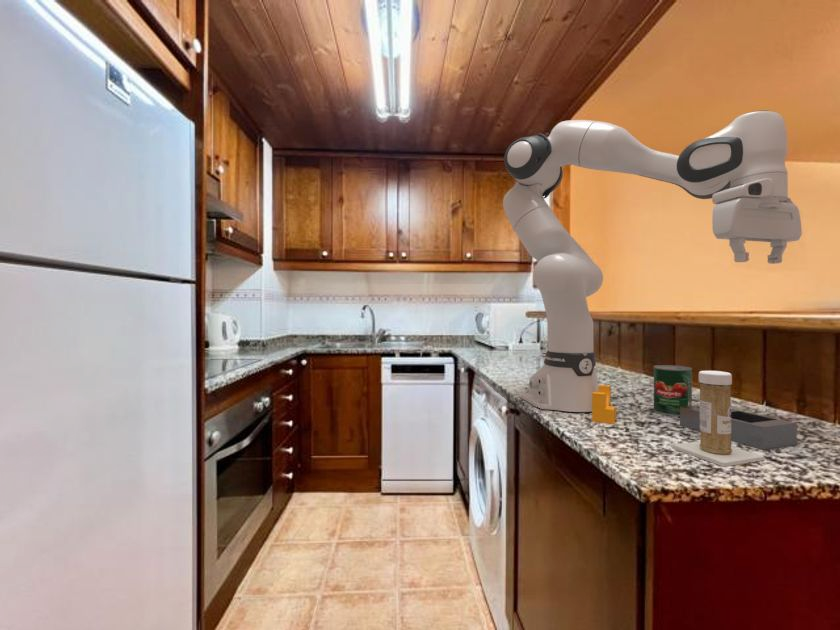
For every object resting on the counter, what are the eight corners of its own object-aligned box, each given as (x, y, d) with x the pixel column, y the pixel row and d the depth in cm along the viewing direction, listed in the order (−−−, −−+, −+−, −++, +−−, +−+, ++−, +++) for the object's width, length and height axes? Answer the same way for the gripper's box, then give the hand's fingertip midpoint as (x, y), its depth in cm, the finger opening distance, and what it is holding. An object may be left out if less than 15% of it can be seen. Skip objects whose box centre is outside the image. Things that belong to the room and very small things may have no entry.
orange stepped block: (613, 424, 87) (613, 395, 87) (592, 422, 89) (592, 393, 89) (618, 412, 97) (618, 386, 97) (599, 410, 99) (599, 384, 99)
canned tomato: (658, 415, 94) (658, 368, 94) (649, 407, 101) (649, 364, 101) (697, 417, 91) (697, 369, 91) (685, 409, 99) (685, 365, 99)
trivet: (672, 448, 71) (672, 444, 71) (710, 443, 74) (710, 439, 74) (723, 466, 62) (723, 462, 62) (764, 460, 65) (764, 456, 65)
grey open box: (680, 425, 85) (679, 406, 85) (710, 422, 88) (710, 403, 88) (763, 449, 70) (763, 426, 70) (796, 444, 72) (796, 422, 72)
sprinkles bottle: (734, 457, 65) (734, 374, 65) (700, 452, 67) (700, 372, 67) (729, 448, 69) (729, 370, 69) (697, 444, 71) (697, 369, 71)
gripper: (776, 202, 87) (776, 265, 87) (705, 194, 81) (705, 263, 81) (811, 193, 81) (812, 262, 81) (738, 185, 75) (738, 258, 75)
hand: (758, 262), depth 81 cm, fingers open, 8 cm apart
